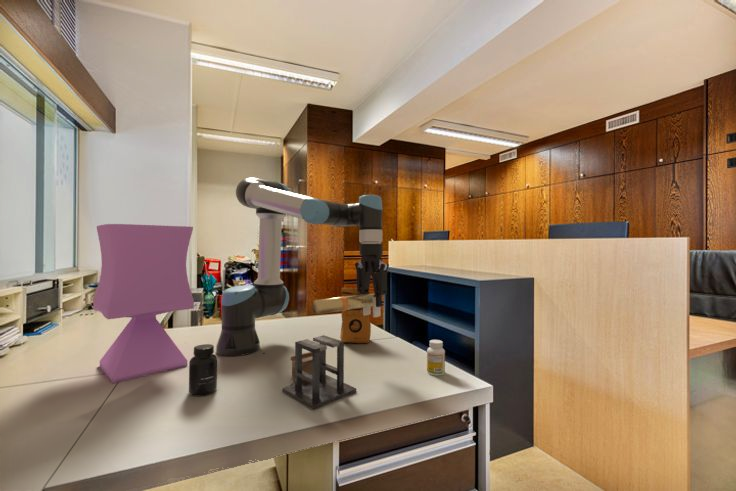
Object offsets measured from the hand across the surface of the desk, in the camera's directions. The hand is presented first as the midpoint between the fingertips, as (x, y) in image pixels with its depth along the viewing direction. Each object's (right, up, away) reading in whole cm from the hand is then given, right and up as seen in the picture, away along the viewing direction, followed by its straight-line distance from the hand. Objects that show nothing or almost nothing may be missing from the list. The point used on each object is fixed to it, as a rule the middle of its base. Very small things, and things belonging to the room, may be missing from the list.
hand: (371, 315), depth 109 cm
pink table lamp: (-74, -16, 0) cm, 75 cm away
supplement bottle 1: (-45, -17, -19) cm, 52 cm away
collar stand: (-14, -17, -19) cm, 29 cm away
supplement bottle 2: (+20, -17, -5) cm, 26 cm away
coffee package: (-6, -17, +29) cm, 34 cm away
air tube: (-7, +5, -7) cm, 11 cm away
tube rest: (-19, -16, -8) cm, 27 cm away
